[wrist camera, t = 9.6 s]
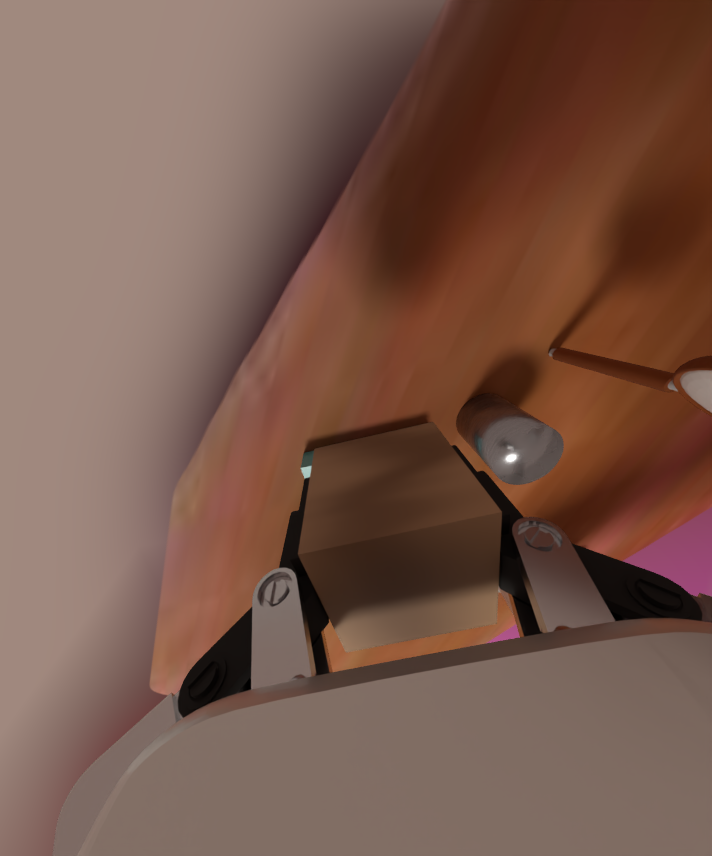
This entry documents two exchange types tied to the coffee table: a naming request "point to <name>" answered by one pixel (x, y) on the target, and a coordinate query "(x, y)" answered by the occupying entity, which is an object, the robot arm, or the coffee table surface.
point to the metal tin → (509, 439)
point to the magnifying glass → (652, 375)
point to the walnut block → (400, 539)
